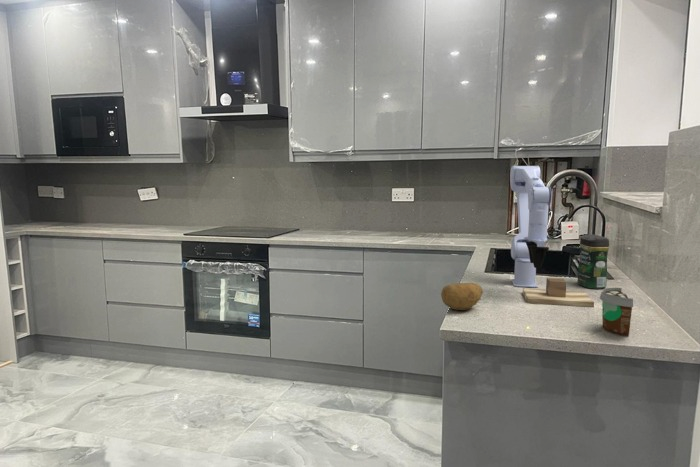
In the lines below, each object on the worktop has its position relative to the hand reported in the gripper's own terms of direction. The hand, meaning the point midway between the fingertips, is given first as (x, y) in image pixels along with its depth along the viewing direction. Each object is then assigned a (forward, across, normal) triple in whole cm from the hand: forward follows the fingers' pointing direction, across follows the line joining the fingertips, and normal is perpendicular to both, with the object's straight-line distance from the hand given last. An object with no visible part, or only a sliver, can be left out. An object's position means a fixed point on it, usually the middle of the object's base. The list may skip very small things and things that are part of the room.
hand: (535, 265), depth 157 cm
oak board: (+10, +3, +6) cm, 12 cm away
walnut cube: (+9, +3, +6) cm, 11 cm away
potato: (+10, +20, -23) cm, 33 cm away
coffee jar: (+11, -18, +22) cm, 30 cm away
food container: (+10, +31, +14) cm, 36 cm away
